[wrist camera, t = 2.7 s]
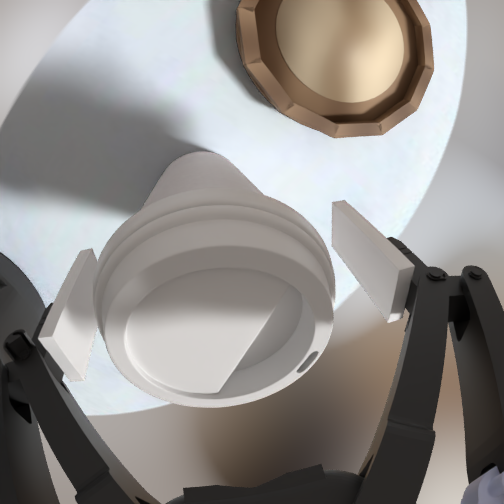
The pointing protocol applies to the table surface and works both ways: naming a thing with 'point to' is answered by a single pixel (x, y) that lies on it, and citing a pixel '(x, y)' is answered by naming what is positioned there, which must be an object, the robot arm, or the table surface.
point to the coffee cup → (213, 289)
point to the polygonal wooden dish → (338, 60)
